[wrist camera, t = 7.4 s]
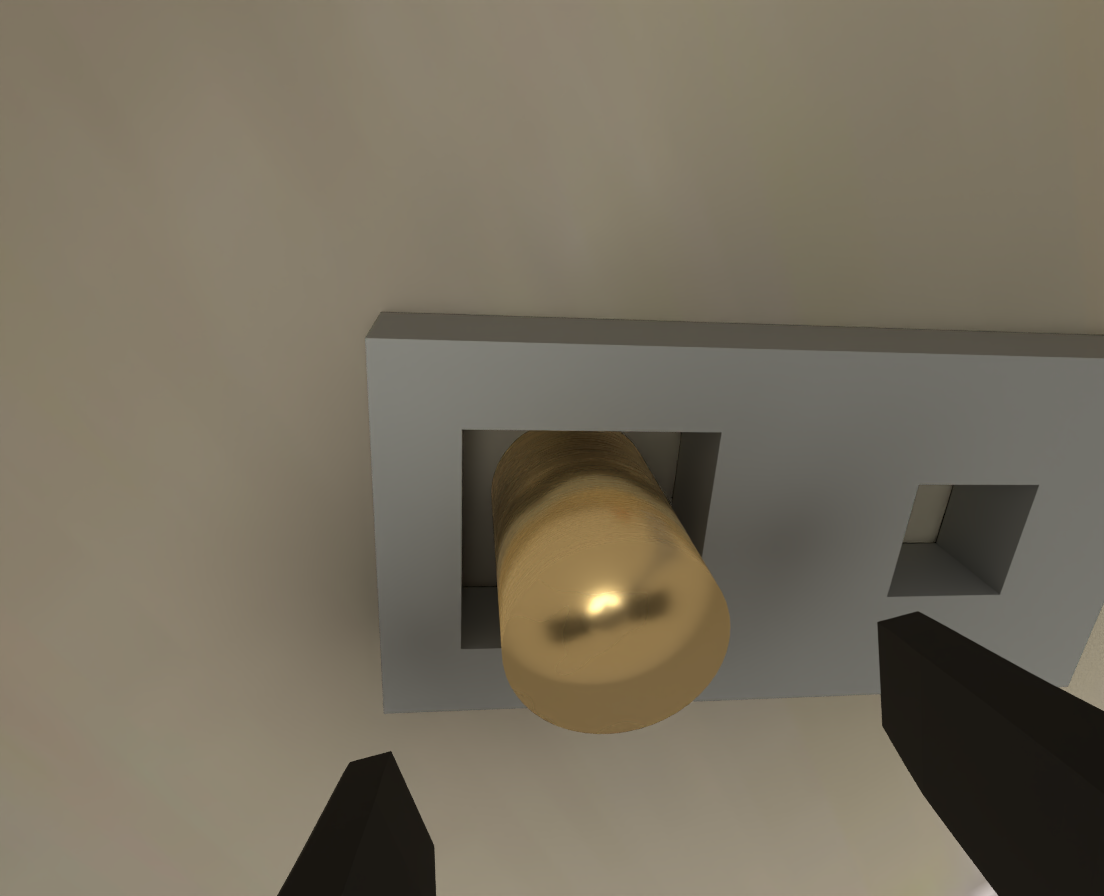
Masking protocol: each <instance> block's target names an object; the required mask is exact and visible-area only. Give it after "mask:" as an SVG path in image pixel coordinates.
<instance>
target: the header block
mask: <svg viewBox="0 0 1104 896" xmlns="http://www.w3.org/2000/svg"><path fill="white" fill-rule="evenodd" d="M365 345H366V365H367V385H368V405H369V425H370V446H371V466H372V486H373V506H374V526H375V547H376V567H377V587H378V607H379V627H380V648H381V668H382V688H383V708H384V714H386V713H411V712H437V711H462V710H488V709H513V708H527V707H526V706H525V705H524V704H523V703H522V701H521V700H520V699H519V698H518V697H517V696H516V694H515V692H514V691H513V689H512V688H511V686H510V684H509V682H508V679H507V677H506V674H505V671H504V667H503V661H502V649H501V634H500V619H499V603H498V588H497V587H468V588H462V504H463V430H550V431H637V432H682V435H681V442H680V449H679V457H678V464H677V472H676V479H675V486H674V494H673V501H672V509H673V510H674V512H675V514H676V515H677V517H678V519H679V521H680V522H681V524H682V526H683V527H684V529H685V531H686V532H687V534H688V536H689V537H690V539H691V541H692V542H693V544H694V546H695V547H696V549H697V551H698V553H699V554H700V556H701V558H702V559H703V561H704V563H705V564H706V566H707V568H708V569H709V571H710V573H711V574H712V576H713V578H714V580H715V581H716V583H717V585H718V586H719V588H720V590H721V591H722V594H723V596H724V598H725V600H726V603H727V607H728V611H729V615H730V639H729V644H728V648H727V652H726V655H725V657H724V660H723V663H722V664H721V666H720V668H719V670H718V672H717V674H716V675H715V677H714V678H713V679H712V681H711V682H710V684H709V685H708V686H707V687H706V688H705V689H704V690H703V692H702V693H701V694H700V695H699V696H698V697H696V698H695V699H694V700H693V701H717V700H743V699H768V698H793V697H819V696H844V695H870V694H881V688H880V668H879V648H878V628H877V622H879V621H883V620H886V619H890V618H894V617H898V616H901V615H905V614H909V613H913V612H916V611H919V612H921V613H923V614H925V615H927V616H928V617H930V618H932V619H934V620H936V621H938V622H940V623H941V624H943V625H945V626H947V627H949V628H950V629H952V630H954V631H956V632H958V633H959V634H961V635H963V636H965V637H967V638H968V639H970V640H972V641H974V642H976V643H977V644H979V645H981V646H983V647H985V648H986V649H988V650H990V651H992V652H994V653H995V654H997V655H999V656H1001V657H1003V658H1005V659H1006V660H1008V661H1010V662H1012V663H1014V664H1015V665H1017V666H1019V667H1021V668H1023V669H1025V670H1026V671H1028V672H1030V673H1032V674H1034V675H1036V676H1038V677H1039V678H1041V679H1043V680H1045V681H1047V682H1049V683H1051V684H1052V685H1054V686H1056V687H1068V685H1069V683H1070V681H1071V678H1072V676H1073V674H1074V671H1075V669H1076V667H1077V664H1078V662H1079V660H1080V657H1081V655H1082V653H1083V650H1084V648H1085V645H1086V643H1087V641H1088V638H1089V636H1090V634H1091V631H1092V629H1093V627H1094V624H1095V622H1096V620H1097V617H1098V615H1099V613H1100V610H1101V608H1102V606H1103V603H1104V335H1079V334H1048V333H1017V332H986V331H955V330H924V329H893V328H862V327H831V326H800V325H769V324H738V323H707V322H676V321H645V320H614V319H583V318H552V317H521V316H490V315H459V314H428V313H397V312H381V313H380V315H379V316H378V318H377V320H376V321H375V323H374V325H373V326H372V328H371V329H370V331H369V333H368V334H367V336H366V338H365ZM919 485H954V487H953V490H952V493H951V496H950V500H949V503H948V506H947V509H946V513H945V516H944V519H943V523H942V526H941V529H940V532H939V536H938V539H937V542H936V543H916V544H902V542H903V539H904V535H905V532H906V528H907V525H908V521H909V518H910V514H911V511H912V507H913V504H914V500H915V497H916V493H917V490H918V486H919Z"/></svg>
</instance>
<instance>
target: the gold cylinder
mask: <svg viewBox="0 0 1104 896" xmlns="http://www.w3.org/2000/svg"><path fill="white" fill-rule="evenodd" d="M491 497H492V512H493V528H494V543H495V558H496V573H497V588H498V603H499V619H500V634H501V649H502V661H503V667H504V671H505V674H506V677H507V679H508V682H509V684H510V686H511V688H512V689H513V691H514V692H515V694H516V696H517V697H518V698H519V699H520V700H521V701H522V703H523V704H524V705H525V706H526V707H527V708H529V709H530V710H531V711H532V712H533V713H535V714H536V715H538V716H539V717H541V718H542V719H544V720H546V721H548V722H550V723H552V724H554V725H556V726H559V727H562V728H565V729H568V730H572V731H577V732H583V733H593V734H612V733H621V732H627V731H632V730H636V729H640V728H643V727H646V726H650V725H653V724H655V723H657V722H659V721H662V720H664V719H666V718H668V717H670V716H671V715H673V714H675V713H677V712H678V711H680V710H681V709H683V708H684V707H685V706H687V705H688V704H690V703H691V702H692V701H693V700H694V699H695V698H696V697H698V696H699V695H700V694H701V693H702V692H703V690H704V689H705V688H706V687H707V686H708V685H709V684H710V682H711V681H712V679H713V678H714V677H715V675H716V674H717V672H718V670H719V668H720V666H721V664H722V663H723V660H724V657H725V655H726V652H727V648H728V644H729V639H730V615H729V611H728V607H727V603H726V600H725V598H724V596H723V594H722V591H721V590H720V588H719V586H718V585H717V583H716V581H715V580H714V578H713V576H712V574H711V573H710V571H709V569H708V568H707V566H706V564H705V563H704V561H703V559H702V558H701V556H700V554H699V553H698V551H697V549H696V547H695V546H694V544H693V542H692V541H691V539H690V537H689V536H688V534H687V532H686V531H685V529H684V527H683V526H682V524H681V522H680V521H679V519H678V517H677V515H676V514H675V512H674V510H673V509H672V507H671V505H670V504H669V502H668V500H667V499H666V497H665V495H664V494H663V492H662V490H661V488H660V487H659V485H658V483H657V482H656V480H655V478H654V477H653V475H652V473H651V472H650V470H649V468H648V467H647V465H646V463H645V461H644V460H643V458H642V456H641V455H640V453H639V452H638V450H637V448H636V447H635V446H634V444H633V443H632V442H631V441H630V440H629V439H628V438H627V437H626V436H625V435H624V434H622V433H621V432H620V431H550V430H529V431H528V432H526V433H525V434H523V435H522V436H521V437H519V438H518V439H517V440H516V441H515V442H514V443H513V444H512V445H511V446H510V447H509V448H508V449H507V451H506V452H505V454H504V455H503V456H502V458H501V460H500V462H499V464H498V466H497V468H496V471H495V474H494V477H493V482H492V491H491Z"/></svg>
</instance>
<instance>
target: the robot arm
mask: <svg viewBox="0 0 1104 896" xmlns="http://www.w3.org/2000/svg"><path fill="white" fill-rule="evenodd" d="M877 628H878V648H879V668H880V688H881V708H882V726H883V728H884V730H885V731H886V733H887V735H888V737H889V738H890V740H891V742H892V743H893V745H894V747H895V749H896V750H897V752H898V754H899V756H900V757H901V759H902V761H903V762H904V764H905V766H906V767H907V769H908V771H909V772H910V774H911V776H912V777H913V779H914V781H915V782H916V784H917V785H918V787H919V789H920V790H921V792H922V794H923V795H924V797H925V798H926V799H927V801H928V802H929V803H930V805H931V806H932V808H933V809H934V810H935V812H936V813H937V814H938V816H939V817H940V818H941V820H942V821H943V822H944V824H945V825H946V826H947V828H948V829H949V831H950V832H951V833H952V835H953V836H954V837H955V839H956V840H957V841H958V843H959V844H960V845H961V847H962V848H963V849H964V851H965V852H966V853H967V855H968V856H969V857H970V859H971V860H972V861H973V863H974V864H975V865H976V867H977V868H978V869H979V871H980V872H981V873H982V875H983V876H984V877H985V879H986V880H987V881H988V883H989V884H990V885H991V887H992V888H993V889H994V890H995V892H996V893H997V894H998V896H1104V711H1103V710H1101V709H1099V708H1097V707H1095V706H1093V705H1091V704H1089V703H1087V702H1085V701H1083V700H1081V699H1079V698H1077V697H1075V696H1073V695H1071V694H1070V693H1068V692H1066V691H1064V690H1062V689H1060V688H1058V687H1056V686H1054V685H1052V684H1051V683H1049V682H1047V681H1045V680H1043V679H1041V678H1039V677H1038V676H1036V675H1034V674H1032V673H1030V672H1028V671H1026V670H1025V669H1023V668H1021V667H1019V666H1017V665H1015V664H1014V663H1012V662H1010V661H1008V660H1006V659H1005V658H1003V657H1001V656H999V655H997V654H995V653H994V652H992V651H990V650H988V649H986V648H985V647H983V646H981V645H979V644H977V643H976V642H974V641H972V640H970V639H968V638H967V637H965V636H963V635H961V634H959V633H958V632H956V631H954V630H952V629H950V628H949V627H947V626H945V625H943V624H941V623H940V622H938V621H936V620H934V619H932V618H930V617H928V616H927V615H925V614H923V613H921V612H919V611H916V612H913V613H909V614H905V615H901V616H898V617H894V618H890V619H886V620H883V621H879V622H877ZM277 896H436V881H435V854H434V844H433V842H432V840H431V838H430V835H429V833H428V831H427V829H426V827H425V824H424V822H423V820H422V818H421V816H420V813H419V811H418V809H417V807H416V805H415V802H414V800H413V798H412V796H411V794H410V791H409V789H408V787H407V785H406V783H405V780H404V778H403V776H402V774H401V772H400V769H399V767H398V765H397V763H396V761H395V758H394V756H393V754H392V752H391V751H390V752H386V753H383V754H379V755H375V756H371V757H367V758H364V759H360V760H356V761H352V762H350V763H349V765H348V766H347V768H346V769H345V771H344V773H343V775H342V777H341V778H340V780H339V782H338V784H337V786H336V788H335V790H334V791H333V793H332V795H331V797H330V799H329V801H328V803H327V805H326V807H325V809H324V810H323V812H322V814H321V816H320V818H319V820H318V822H317V824H316V826H315V828H314V829H313V831H312V833H311V835H310V837H309V839H308V841H307V842H306V844H305V846H304V848H303V850H302V852H301V854H300V856H299V857H298V859H297V861H296V863H295V865H294V867H293V868H292V870H291V872H290V874H289V876H288V877H287V879H286V881H285V883H284V884H283V886H282V888H281V890H280V892H279V893H278V895H277Z"/></svg>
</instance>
